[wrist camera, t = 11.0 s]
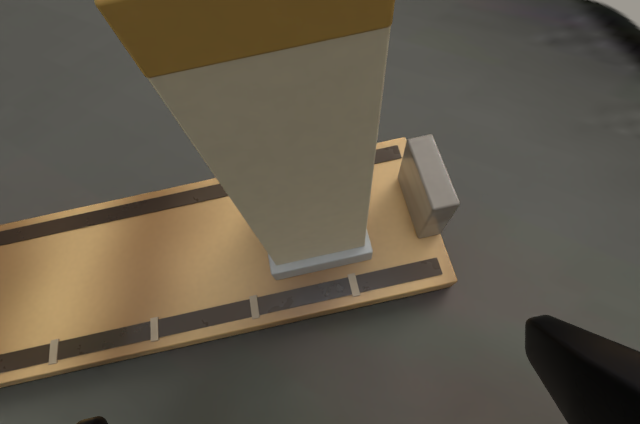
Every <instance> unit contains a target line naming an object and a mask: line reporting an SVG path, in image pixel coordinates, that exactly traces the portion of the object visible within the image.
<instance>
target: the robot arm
mask: <svg viewBox="0 0 640 424" xmlns="http://www.w3.org/2000/svg"><path fill="white" fill-rule="evenodd" d="M525 350H526V354H527V357H528V359H529V361H530V363H531V365H532V366H533V368H534V369H535V371H536V373H537V374H538V376H539V377H540V379H541V381H542V382H543V384H544V385H545V387H546V389H547V390H548V392H549V393H550V395H551V397H552V398H553V400H554V402H555V403H556V405H557V406H558V408H559V410H560V411H561V413H562V414H563V416H564V418H565V419H566V421H567V422H568V424H640V352H639V351H636V350H634V349H631V348H629V347H626V346H624V345H621V344H619V343H616V342H614V341H611V340H609V339H606V338H604V337H601V336H599V335H597V334H594V333H592V332H589V331H587V330H584V329H582V328H579V327H577V326H574V325H572V324H569V323H567V322H564V321H562V320H559V319H557V318H554V317H552V316H549V315H542V316H537V317H533V318H529V319H528V320H527V321H526V325H525ZM77 424H108V423H107V421H106V419H105V418H103V417H101V416H97V417H93V418H88V419H84V420H81V421H79V422H78V423H77Z"/></svg>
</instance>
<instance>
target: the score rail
mask: <svg viewBox="0 0 640 424" xmlns="http://www.w3.org/2000/svg"><path fill="white" fill-rule="evenodd" d="M459 205H460V202H459V200H458V197H457V195H456V192H455V190H454V187H453V185H452V182H451V180H450V177H449V175H448V172H447V170H446V167H445V165H444V162H443V160H442V157H441V155H440V153H439V150H438V148H437V145H436V143H435V140H434V138H433V135H432V134H428V135H424V136H419V137H414V138H410V139H407V141H406V138H405V137H403V138H398V139H394V140H389V141H384V142H380V143H377V145H376V154H375V162H374V171H373V179H372V187H371V196H370V204H369V212H368V221H367V232H368V235H369V239H370V243H371V246H372V250H373V253H372V258H371V259H370V260H366V261H361V262H357V263H352V264H348V265H343V266H339V267H334V268H330V269H325V270H321V271H316V272H312V273H307V274H303V275H298V276H294V277H289V278H285V279H280V280H275V278H274V277H273V276H272V275H271V271H270V265H269V258H268V252H267V251H266V250H265V248H264V247H263V245H262V244H261V242H260V241H259V239H258V238H257V236H256V235H255V234H254V232H253V231H252V229H251V228H250V226H249V225H248V223H247V222H246V221H245V219H244V218H243V216H242V215H241V213H240V212H239V210H238V209H237V207H236V206H235V205H234V203H233V202H232V200H231V199H230V197H229V196H228V194H227V193H226V191H225V190H224V189H223V187H222V186H221V184H220V183H219V181H218V180H217V178H214V179H210V180H205V181H200V182H196V183H191V184H187V185H182V186H177V187H173V188H168V189H164V190H159V191H154V192H150V193H145V194H141V195H136V196H131V197H127V198H122V199H117V200H113V201H108V202H104V203H99V204H94V205H90V206H85V207H81V208H76V209H71V210H67V211H62V212H58V213H53V214H48V215H44V216H39V217H35V218H30V219H25V220H21V221H16V222H12V223H7V224H2V225H0V388H2V387H6V386H10V385H15V384H19V383H24V382H28V381H33V380H37V379H42V378H46V377H51V376H55V375H60V374H64V373H69V372H73V371H77V370H82V369H86V368H91V367H95V366H100V365H104V364H109V363H113V362H118V361H122V360H127V359H131V358H136V357H140V356H144V355H149V354H153V353H158V352H162V351H167V350H171V349H176V348H180V347H185V346H189V345H194V344H198V343H202V342H207V341H211V340H216V339H220V338H225V337H229V336H234V335H238V334H243V333H247V332H252V331H256V330H261V329H265V328H269V327H274V326H278V325H283V324H287V323H292V322H296V321H301V320H305V319H310V318H314V317H319V316H323V315H328V314H332V313H336V312H341V311H345V310H350V309H354V308H359V307H363V306H368V305H372V304H377V303H381V302H386V301H390V300H395V299H399V298H403V297H408V296H412V295H417V294H421V293H426V292H430V291H435V290H439V289H444V288H448V287H451V286H452V285H454V284H455V283H456V282H457V278H456V275H455V273H454V270H453V267H452V264H451V262H450V259H449V256H448V253H447V251H446V248H445V245H444V242H443V240H442V237H441V234H440V233H441V232H442V231H443V229H444V228H445V226H446V225H447V223H448V222H449V220H450V219H451V217H452V216H453V214H454V213H455V211H456V210H457V208H458V207H459Z"/></svg>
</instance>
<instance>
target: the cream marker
mask: <svg viewBox="0 0 640 424" xmlns="http://www.w3.org/2000/svg"><path fill="white" fill-rule="evenodd" d="M94 2H95V5H96V6H97V8H98V9H99V11H100V12H101V14H102V15H103V16H104V18H105V19H106V21H107V22H108V24H109V25H110V27H111V28H112V29H113V31H114V32H115V34H116V35H117V37H118V38H119V40H120V41H121V42H122V44H123V45H124V47H125V48H126V50H127V51H128V53H129V54H130V55H131V57H132V58H133V60H134V61H135V63H136V64H137V66H138V67H139V68H140V70H141V71H142V73H143V74H144V76H145V77H147V78H148V80H149V81H150V83H151V84H152V86H153V87H154V88H155V90H156V91H157V93H158V94H159V96H160V97H161V99H162V100H163V101H164V103H165V104H166V106H167V107H168V109H169V110H170V112H171V113H172V115H173V116H174V117H175V119H176V120H177V122H178V123H179V125H180V126H181V128H182V129H183V131H184V132H185V133H186V135H187V136H188V138H189V139H190V141H191V142H192V144H193V145H194V146H195V148H196V149H197V151H198V152H199V154H200V155H201V157H202V158H203V160H204V161H205V162H206V164H207V165H208V167H209V168H210V170H211V171H212V173H213V174H214V176H215V177H216V178H217V180H218V181H219V183H220V184H221V186H222V187H223V189H224V190H225V191H226V193H227V194H228V196H229V197H230V199H231V200H232V202H233V203H234V205H235V206H236V207H237V209H238V210H239V212H240V213H241V215H242V216H243V218H244V219H245V221H246V222H247V223H248V225H249V226H250V228H251V229H252V231H253V232H254V234H255V235H256V236H257V238H258V239H259V241H260V242H261V244H262V245H263V247H264V248H265V250H266V251H267V252H268V258H269V265H270V271H271V275H272V276H273V277H274V278H275V280H280V279H285V278H289V277H294V276H298V275H303V274H307V273H312V272H316V271H321V270H325V269H330V268H334V267H339V266H343V265H348V264H352V263H357V262H361V261H366V260H370V259H371V258H372V253H373V250H372V246H371V243H370V239H369V235H368V232H367V221H368V212H369V204H370V196H371V187H372V179H373V171H374V162H375V154H376V145H377V137H378V129H379V120H380V112H381V104H382V95H383V87H384V78H385V70H386V62H387V53H388V45H389V37H390V28H391V24H392V19H393V11H394V3H395V0H94Z"/></svg>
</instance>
